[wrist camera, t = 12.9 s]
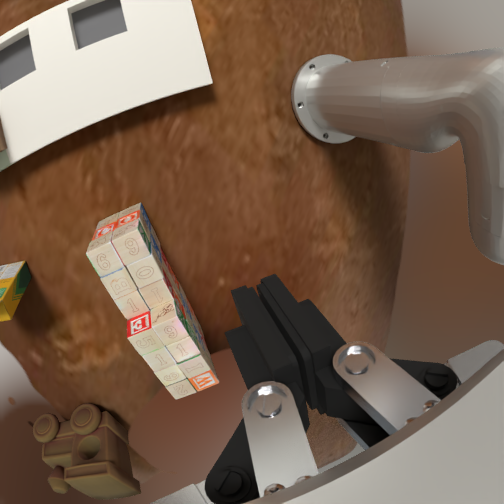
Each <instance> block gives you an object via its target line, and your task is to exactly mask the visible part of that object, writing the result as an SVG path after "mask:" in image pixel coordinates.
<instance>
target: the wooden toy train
mask: <svg viewBox="0 0 504 504" xmlns="http://www.w3.org/2000/svg"><path fill="white" fill-rule="evenodd" d="M33 433H34V436H35V438H36V439H37V441H39V442H42V443H43V446H42V460H43V461H44V462H46V463H47V464H48V465H49V466H51V467H52V468H54V470H53V472H52V473H51V475H50V476H49V478H48V482H49V483H50V485H51V487H52V488H53V490H54V491H56V492H58V493H66V492H67V491H68V490H69V488H70V487H71V486H72V487H74V488H75V489H77V490H79V491H81V492H82V493H84V494H86V495H88V496H91V497H93V498H96V499H116V498H123V497H130V496H133V495H137V494H140V493H141V490H140V483H139V481H138V480H136V479H135V478H133V474H132V467H131V462H130V457H129V453H128V449H127V446H126V444H129V442H128V431H127V430H126V429H125V428H124V427H123V426H122V425H121V424H120V423H119V422H118V421H117V420H115V419H114V418H113V417H112V416H111V415H110V414H109V413H108V412H107V411H105V412H100V410H99V408H98V407H97V406H96V405H94V404H90V403H86V404H82V405H80V406H78V407H77V408H76V409H75V410H74V411H73V413H72V415H71V419H70V420H69V421H64V422H60V423H59V421H58V418H57V417H56V416H55V415H53V414H50V413H46V414H43V415H41V416H40V417H39V418H38V419H37V420H36V421H35V423H34V426H33Z"/></svg>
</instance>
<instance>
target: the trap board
mask: <svg viewBox="0 0 504 504" xmlns="http://www.w3.org/2000/svg"><path fill="white" fill-rule="evenodd" d="M212 83H213V82H212V78H211V75H210V71H209V67H208V63H207V59H206V56H205V52H204V48H203V44H202V40H201V37H200V33H199V29H198V25H197V22H196V18H195V14H194V10H193V6H192V3H191V0H69V1H67V2H65V3H62V4H60V5H58V6H56V7H54V8H51V9H49V10H47V11H45V12H43V13H41V14H39V15H37V16H35V17H34V18H32V19H30V20H28V21H26V22H24V23H22V24H21V25H19V26H17V27H15V28H14V29H12V30H10V31H9V32H7V33H5V34H4V35H2V36H1V37H0V119H1V123H2V128H3V132H4V136H5V140H6V144H7V149H5V150H4V151H2V152H0V172H1V171H2V170H4V169H5V168H7V167H9V166H11V165H12V164H14V163H16V162H17V161H19V160H21V159H23V158H25V157H26V156H28V155H30V154H32V153H34V152H36V151H37V150H39V149H41V148H43V147H45V146H47V145H49V144H51V143H53V142H55V141H57V140H59V139H61V138H63V137H65V136H68V135H70V134H72V133H74V132H76V131H78V130H81V129H83V128H85V127H87V126H90V125H92V124H94V123H97V122H99V121H102V120H104V119H106V118H109V117H111V116H114V115H117V114H119V113H122V112H124V111H127V110H130V109H133V108H135V107H138V106H141V105H144V104H147V103H150V102H153V101H156V100H159V99H162V98H165V97H168V96H171V95H175V94H178V93H181V92H185V91H188V90H192V89H196V88H199V87H203V86H207V85H210V84H212Z"/></svg>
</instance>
